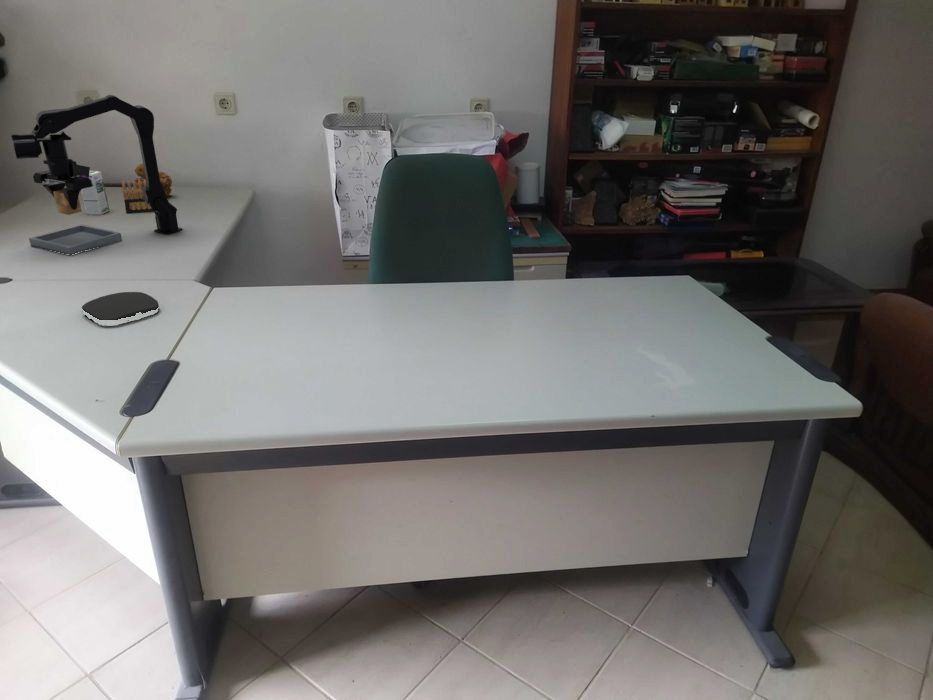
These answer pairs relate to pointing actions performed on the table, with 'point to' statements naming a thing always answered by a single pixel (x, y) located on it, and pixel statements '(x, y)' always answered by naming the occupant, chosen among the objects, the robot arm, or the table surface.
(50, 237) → the tray
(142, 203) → the ammunition clip
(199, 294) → the table surface
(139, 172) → the stuffed squirrel
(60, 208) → the block
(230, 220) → the table surface
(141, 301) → the media streaming box
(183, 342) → the table surface
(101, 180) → the syrup box
